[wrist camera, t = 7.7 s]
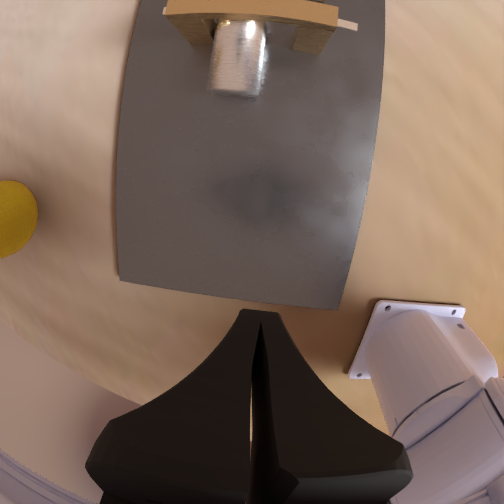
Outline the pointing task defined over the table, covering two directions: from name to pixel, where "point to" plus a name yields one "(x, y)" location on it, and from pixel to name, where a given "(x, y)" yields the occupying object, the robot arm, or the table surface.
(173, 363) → the table surface
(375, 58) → the plate
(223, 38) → the tube
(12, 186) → the lemon
